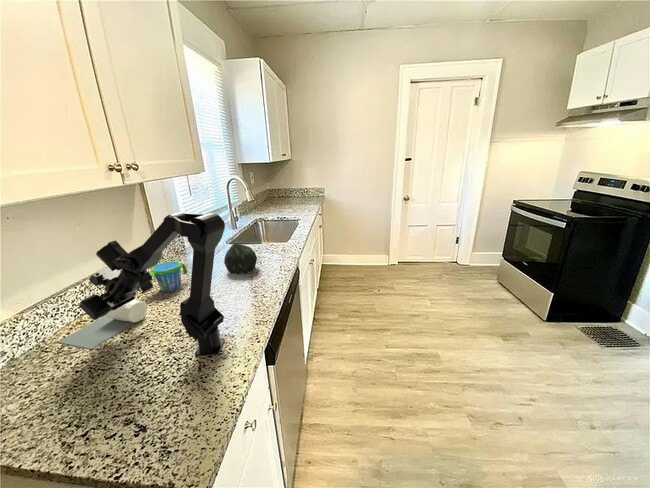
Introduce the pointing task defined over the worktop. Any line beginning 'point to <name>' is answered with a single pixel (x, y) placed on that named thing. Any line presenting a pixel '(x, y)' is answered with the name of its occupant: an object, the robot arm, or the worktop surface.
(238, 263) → the squash
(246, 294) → the worktop surface
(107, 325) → the mat
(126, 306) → the white cup
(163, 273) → the snack cup
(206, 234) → the robot arm
